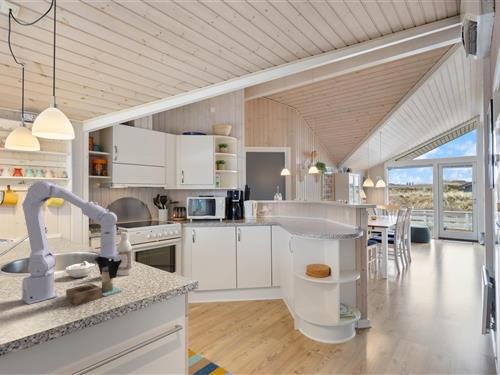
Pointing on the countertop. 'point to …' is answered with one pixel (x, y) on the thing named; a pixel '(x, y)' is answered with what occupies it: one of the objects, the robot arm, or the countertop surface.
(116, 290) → the teal mat
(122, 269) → the bath foam
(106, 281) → the maple plug
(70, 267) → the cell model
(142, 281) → the countertop surface
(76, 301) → the walnut block
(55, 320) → the countertop surface
